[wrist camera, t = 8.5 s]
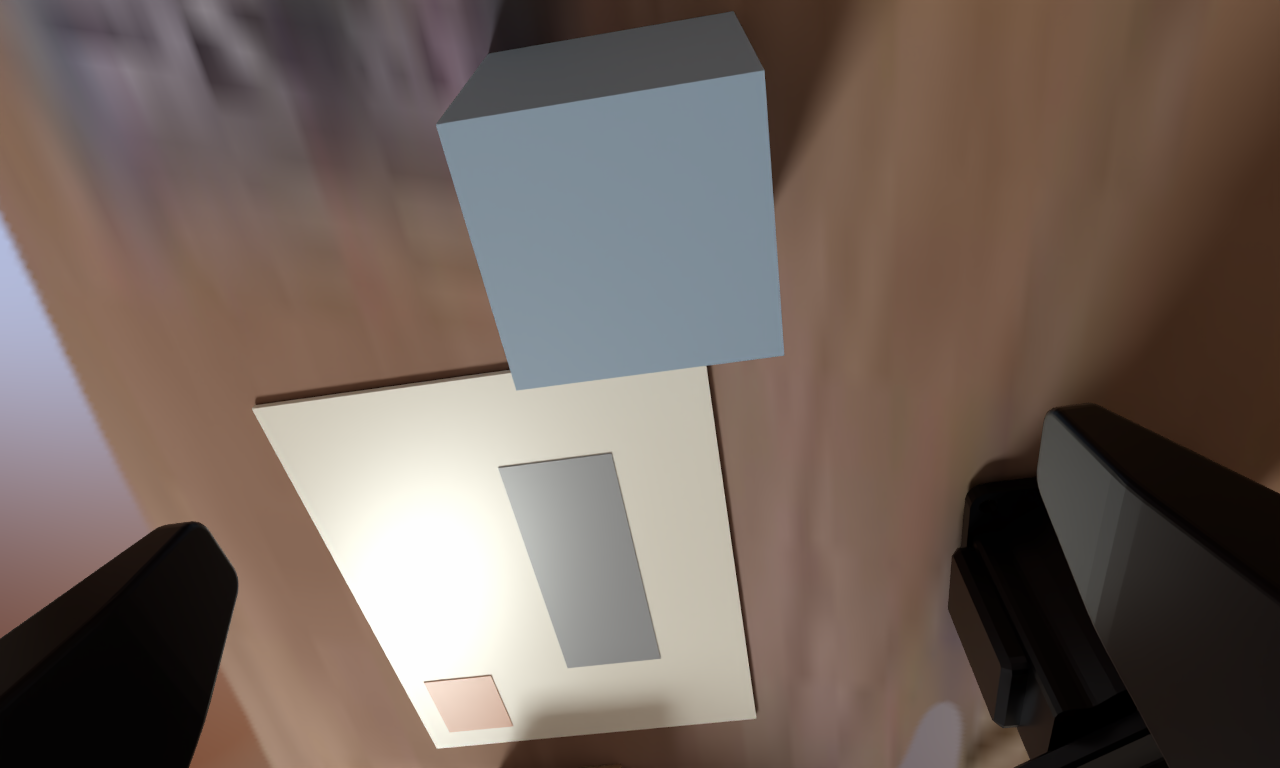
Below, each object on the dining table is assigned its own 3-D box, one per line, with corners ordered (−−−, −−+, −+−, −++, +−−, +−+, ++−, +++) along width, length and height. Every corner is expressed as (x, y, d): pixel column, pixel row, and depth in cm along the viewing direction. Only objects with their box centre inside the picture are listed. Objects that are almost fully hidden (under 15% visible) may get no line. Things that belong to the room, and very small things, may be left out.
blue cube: (733, 10, 16) (764, 69, 12) (752, 241, 19) (784, 355, 14) (488, 52, 16) (436, 124, 12) (544, 271, 19) (516, 390, 15)
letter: (703, 342, 20) (703, 347, 20) (755, 714, 29) (756, 719, 29) (254, 405, 21) (250, 409, 21) (437, 744, 30) (436, 749, 30)
